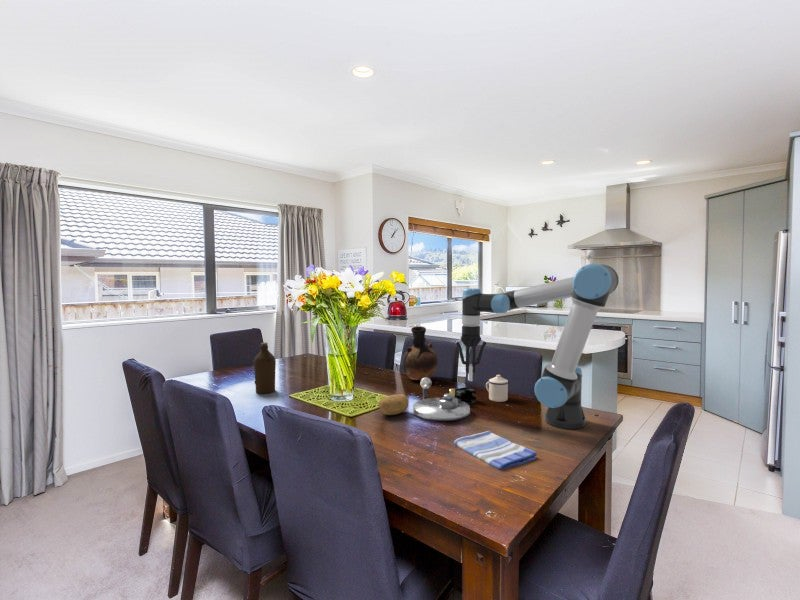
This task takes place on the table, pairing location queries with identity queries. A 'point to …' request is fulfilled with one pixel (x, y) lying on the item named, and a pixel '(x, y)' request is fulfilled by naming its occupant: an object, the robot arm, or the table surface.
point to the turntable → (440, 409)
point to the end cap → (465, 395)
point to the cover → (448, 402)
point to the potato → (393, 404)
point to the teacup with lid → (498, 389)
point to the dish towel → (495, 450)
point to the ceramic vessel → (419, 356)
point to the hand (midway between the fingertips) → (470, 380)
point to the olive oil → (264, 371)
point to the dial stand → (425, 386)
